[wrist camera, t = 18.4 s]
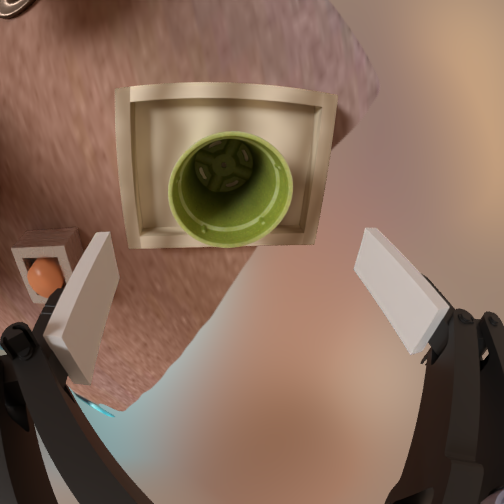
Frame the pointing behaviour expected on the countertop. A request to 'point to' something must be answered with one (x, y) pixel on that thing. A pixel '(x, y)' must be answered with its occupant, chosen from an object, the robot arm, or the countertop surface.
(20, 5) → the candlestick
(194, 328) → the countertop surface
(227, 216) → the plant pot
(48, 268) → the button
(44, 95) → the countertop surface
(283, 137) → the tray
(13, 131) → the countertop surface
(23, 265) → the button housing
